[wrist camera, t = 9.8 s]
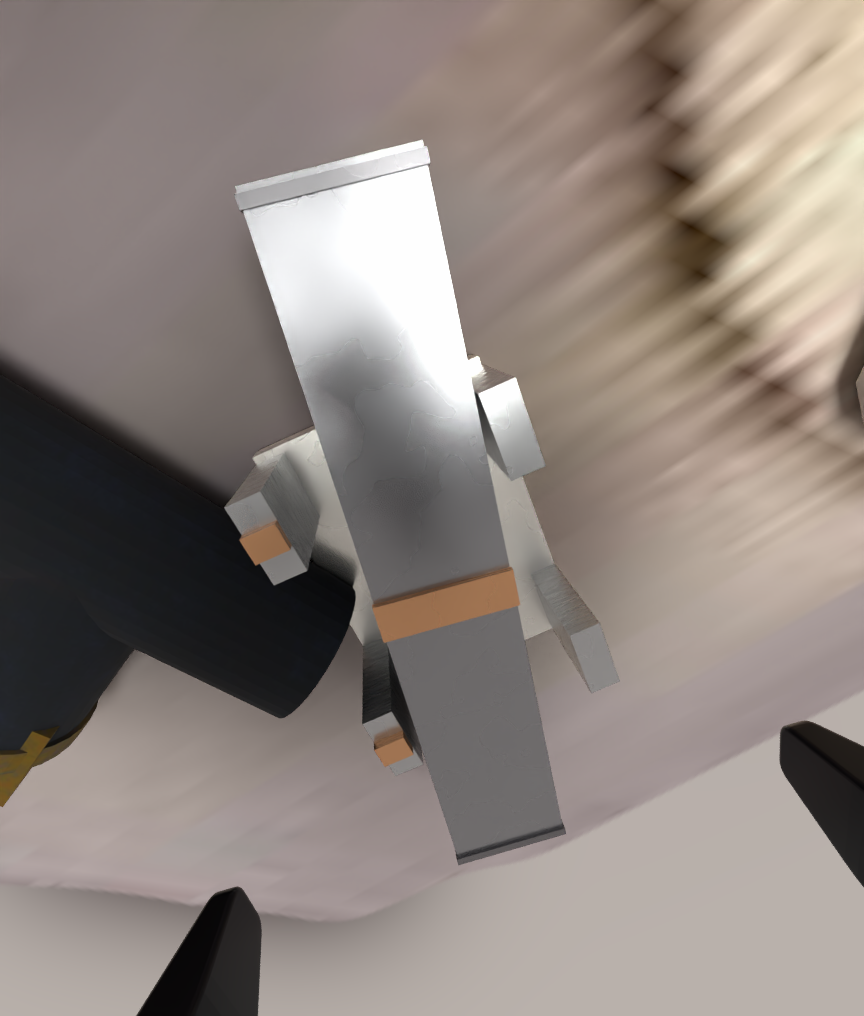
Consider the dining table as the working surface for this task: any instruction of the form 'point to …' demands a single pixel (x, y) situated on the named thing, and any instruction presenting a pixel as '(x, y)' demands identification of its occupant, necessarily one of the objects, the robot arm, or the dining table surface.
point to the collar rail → (327, 540)
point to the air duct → (411, 474)
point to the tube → (861, 391)
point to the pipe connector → (132, 588)
